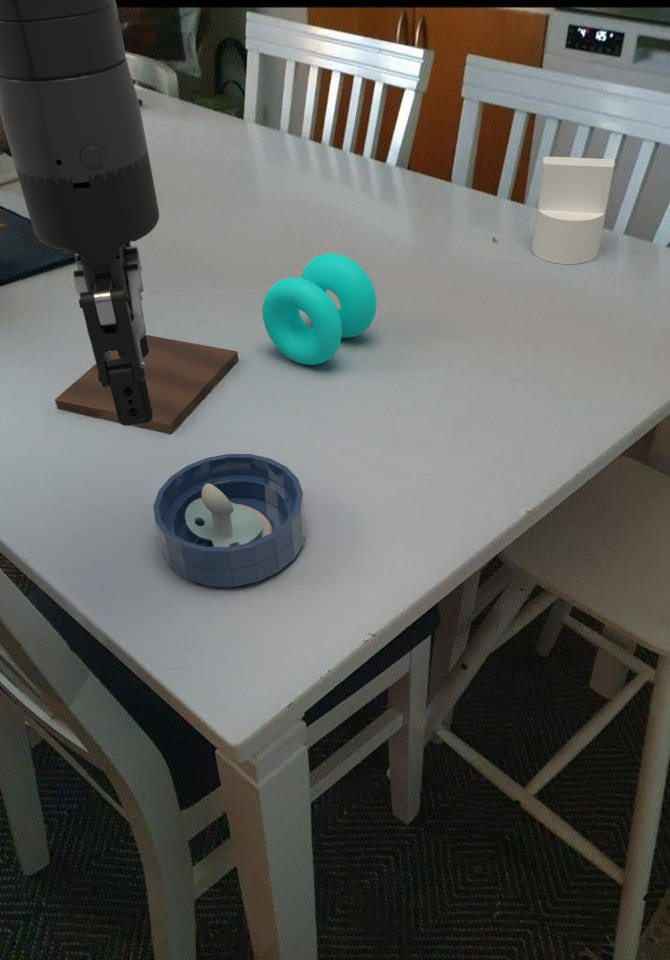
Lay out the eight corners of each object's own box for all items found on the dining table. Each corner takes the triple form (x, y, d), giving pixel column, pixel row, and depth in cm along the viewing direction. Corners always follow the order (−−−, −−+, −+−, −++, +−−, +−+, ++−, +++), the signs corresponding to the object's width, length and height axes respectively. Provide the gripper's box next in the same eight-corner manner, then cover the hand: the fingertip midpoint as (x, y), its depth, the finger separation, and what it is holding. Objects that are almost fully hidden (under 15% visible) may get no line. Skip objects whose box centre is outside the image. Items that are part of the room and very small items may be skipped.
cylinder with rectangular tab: (529, 261, 109) (541, 172, 102) (533, 235, 116) (544, 149, 108) (598, 266, 108) (615, 175, 100) (598, 239, 114) (614, 151, 107)
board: (171, 434, 82) (169, 424, 81) (57, 408, 86) (54, 399, 85) (238, 360, 92) (237, 351, 92) (134, 340, 97) (132, 331, 96)
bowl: (268, 607, 63) (263, 567, 61) (135, 569, 67) (124, 529, 64) (326, 509, 72) (324, 470, 69) (206, 480, 76) (199, 442, 73)
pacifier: (230, 500, 73) (178, 533, 69) (223, 443, 69) (168, 476, 66) (288, 535, 69) (237, 573, 66) (285, 478, 65) (229, 514, 62)
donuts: (381, 340, 95) (381, 259, 88) (333, 380, 88) (329, 296, 82) (311, 319, 99) (307, 241, 93) (261, 355, 93) (252, 274, 87)
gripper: (24, 121, 51) (84, 344, 62) (-1, 202, 41) (77, 456, 51) (143, 109, 52) (183, 331, 63) (150, 185, 42) (196, 437, 52)
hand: (135, 386), depth 57 cm, fingers open, 8 cm apart
